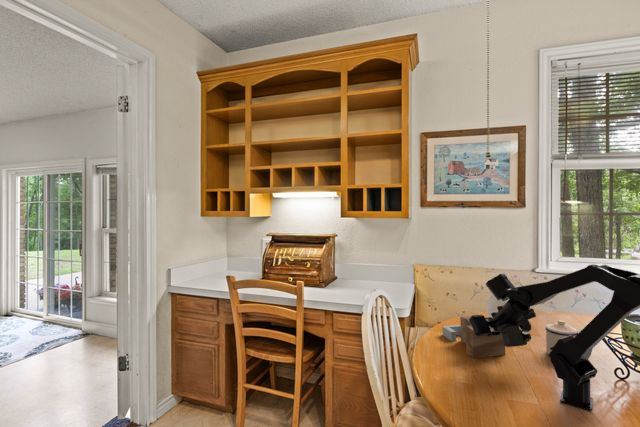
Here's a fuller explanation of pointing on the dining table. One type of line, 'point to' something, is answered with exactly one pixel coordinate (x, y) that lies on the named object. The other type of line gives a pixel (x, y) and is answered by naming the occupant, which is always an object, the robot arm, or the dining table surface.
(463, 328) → the tee block
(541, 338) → the dining table surface
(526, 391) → the dining table surface
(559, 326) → the teacup with lid
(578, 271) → the robot arm
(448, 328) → the stop bracket
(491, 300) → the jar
